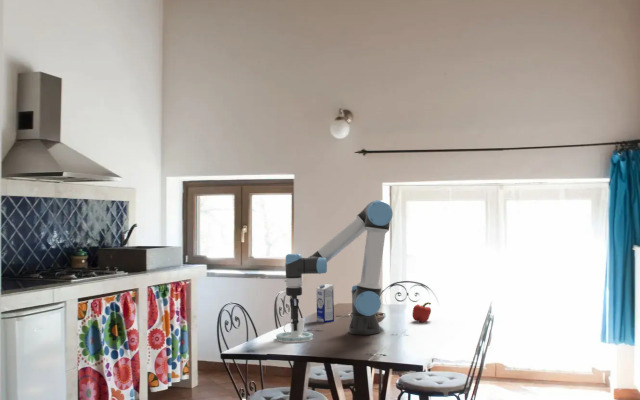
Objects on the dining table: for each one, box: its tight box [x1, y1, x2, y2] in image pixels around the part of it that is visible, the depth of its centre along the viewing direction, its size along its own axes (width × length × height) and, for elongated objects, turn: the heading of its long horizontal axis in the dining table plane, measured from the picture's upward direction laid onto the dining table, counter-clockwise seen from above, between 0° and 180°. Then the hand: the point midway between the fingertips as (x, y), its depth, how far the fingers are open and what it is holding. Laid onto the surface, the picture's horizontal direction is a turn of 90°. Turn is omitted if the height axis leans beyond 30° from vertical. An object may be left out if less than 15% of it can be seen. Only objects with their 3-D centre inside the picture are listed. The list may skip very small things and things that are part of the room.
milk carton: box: [315, 283, 335, 324], centre depth 353 cm, size 7×7×20 cm
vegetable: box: [411, 302, 432, 323], centre depth 346 cm, size 11×10×10 cm
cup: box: [283, 317, 306, 337], centre depth 303 cm, size 7×10×8 cm
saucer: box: [275, 331, 314, 344], centre depth 303 cm, size 17×17×2 cm
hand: (294, 336), depth 303 cm, fingers closed on cup, 7 cm apart
